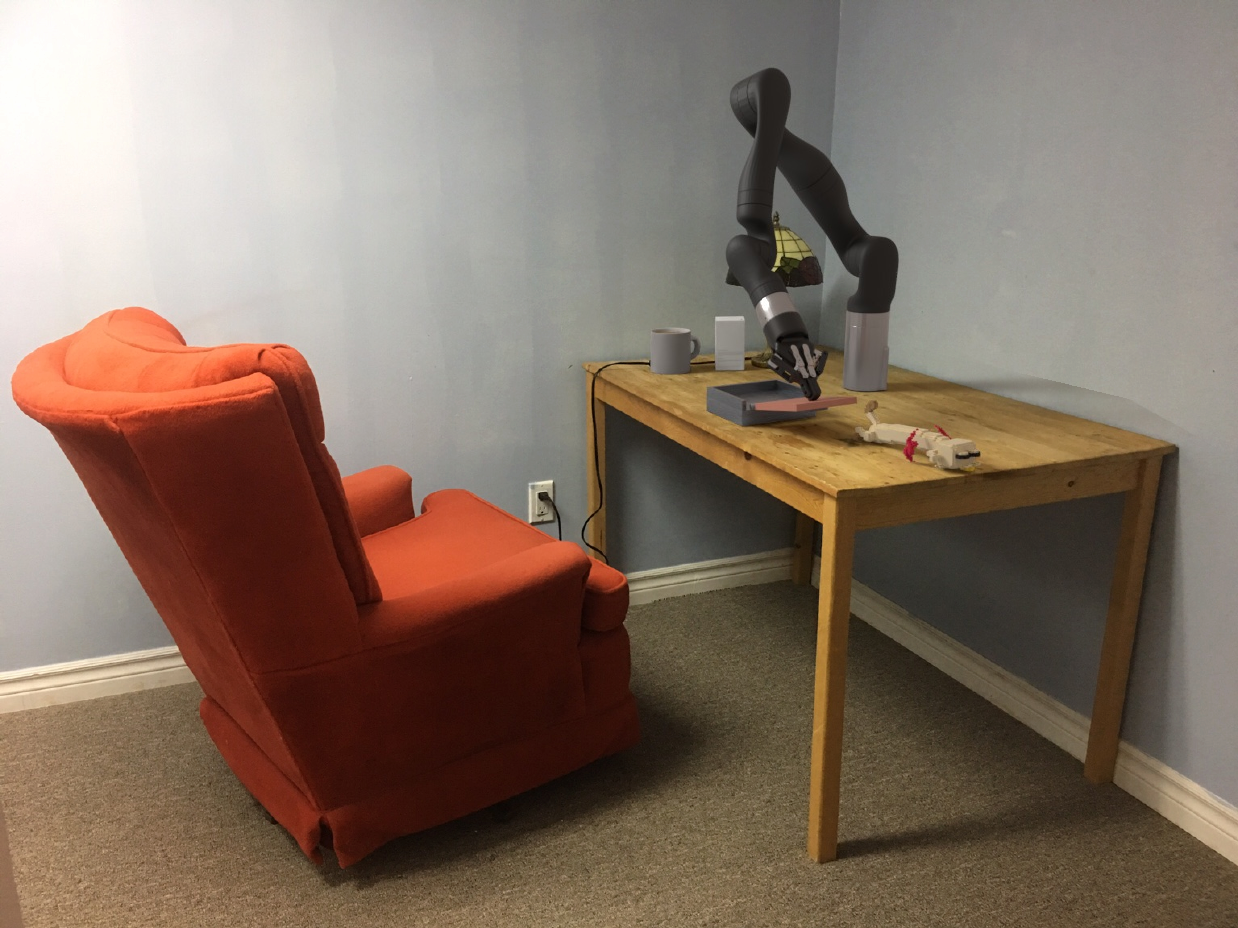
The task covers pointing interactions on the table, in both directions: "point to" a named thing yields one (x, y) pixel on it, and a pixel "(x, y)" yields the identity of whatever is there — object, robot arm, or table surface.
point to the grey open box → (753, 401)
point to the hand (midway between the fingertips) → (815, 398)
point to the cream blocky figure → (920, 442)
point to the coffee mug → (672, 350)
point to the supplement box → (729, 342)
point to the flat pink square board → (804, 404)
